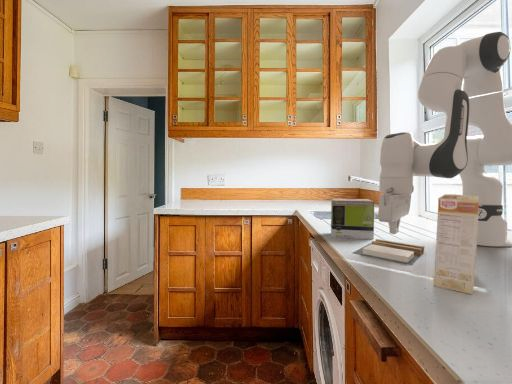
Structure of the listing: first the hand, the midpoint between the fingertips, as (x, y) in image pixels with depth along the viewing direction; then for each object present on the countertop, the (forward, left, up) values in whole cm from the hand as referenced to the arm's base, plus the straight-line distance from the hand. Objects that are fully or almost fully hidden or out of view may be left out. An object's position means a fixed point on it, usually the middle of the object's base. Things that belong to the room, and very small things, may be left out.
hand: (393, 233), depth 82 cm
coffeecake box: (+12, +16, -7) cm, 21 cm away
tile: (+1, 0, -5) cm, 5 cm away
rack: (-5, 0, -6) cm, 8 cm away
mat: (0, -1, -7) cm, 7 cm away
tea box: (-15, -19, -7) cm, 25 cm away
